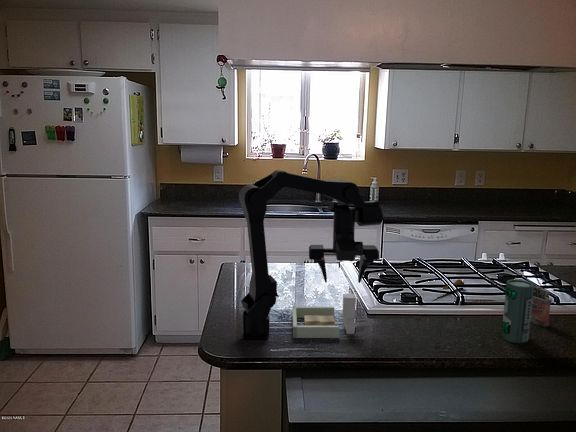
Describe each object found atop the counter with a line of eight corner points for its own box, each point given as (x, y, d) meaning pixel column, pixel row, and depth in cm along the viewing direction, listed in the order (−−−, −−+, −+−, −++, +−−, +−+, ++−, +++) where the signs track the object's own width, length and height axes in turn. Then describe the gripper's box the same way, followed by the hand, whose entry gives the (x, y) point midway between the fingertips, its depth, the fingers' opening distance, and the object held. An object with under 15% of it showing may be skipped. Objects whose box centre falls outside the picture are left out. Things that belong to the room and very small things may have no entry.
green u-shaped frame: (293, 337, 123) (293, 327, 122) (292, 316, 136) (292, 306, 136) (339, 337, 123) (339, 327, 122) (333, 316, 136) (334, 306, 136)
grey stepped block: (344, 333, 125) (345, 302, 123) (341, 320, 134) (341, 290, 132) (356, 334, 125) (357, 302, 123) (351, 320, 134) (352, 290, 132)
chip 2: (320, 330, 128) (320, 321, 127) (318, 324, 132) (318, 315, 131) (334, 330, 128) (334, 321, 127) (332, 323, 132) (333, 315, 131)
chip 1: (305, 329, 128) (305, 321, 127) (304, 323, 132) (304, 315, 131) (319, 329, 128) (319, 321, 128) (318, 323, 132) (318, 315, 132)
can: (505, 330, 127) (510, 277, 124) (530, 337, 123) (536, 282, 120) (499, 338, 122) (504, 283, 120) (524, 345, 119) (530, 289, 116)
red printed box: (518, 316, 137) (521, 283, 135) (527, 314, 138) (530, 282, 136) (543, 327, 129) (547, 292, 127) (551, 325, 131) (555, 291, 129)
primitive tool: (430, 303, 148) (431, 292, 147) (416, 298, 152) (416, 287, 152) (465, 290, 159) (466, 280, 159) (451, 286, 163) (452, 276, 163)
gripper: (310, 233, 119) (309, 292, 122) (383, 234, 119) (381, 292, 122) (309, 224, 130) (308, 278, 133) (376, 225, 130) (374, 279, 133)
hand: (342, 282), depth 130 cm, fingers open, 9 cm apart
